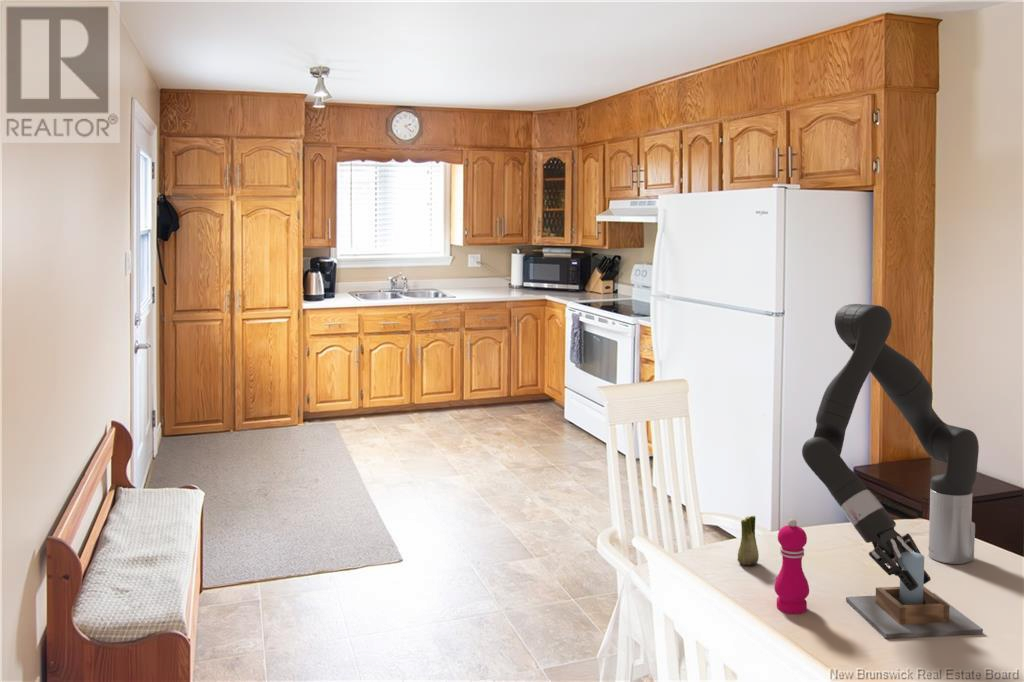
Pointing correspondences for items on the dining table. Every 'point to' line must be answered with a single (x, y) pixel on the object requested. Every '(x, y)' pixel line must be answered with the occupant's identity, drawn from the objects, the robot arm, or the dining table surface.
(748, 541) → the fennel bulb
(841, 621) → the dining table surface
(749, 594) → the dining table surface
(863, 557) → the dining table surface
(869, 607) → the wooden frame tray
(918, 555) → the post
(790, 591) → the pepper mill
